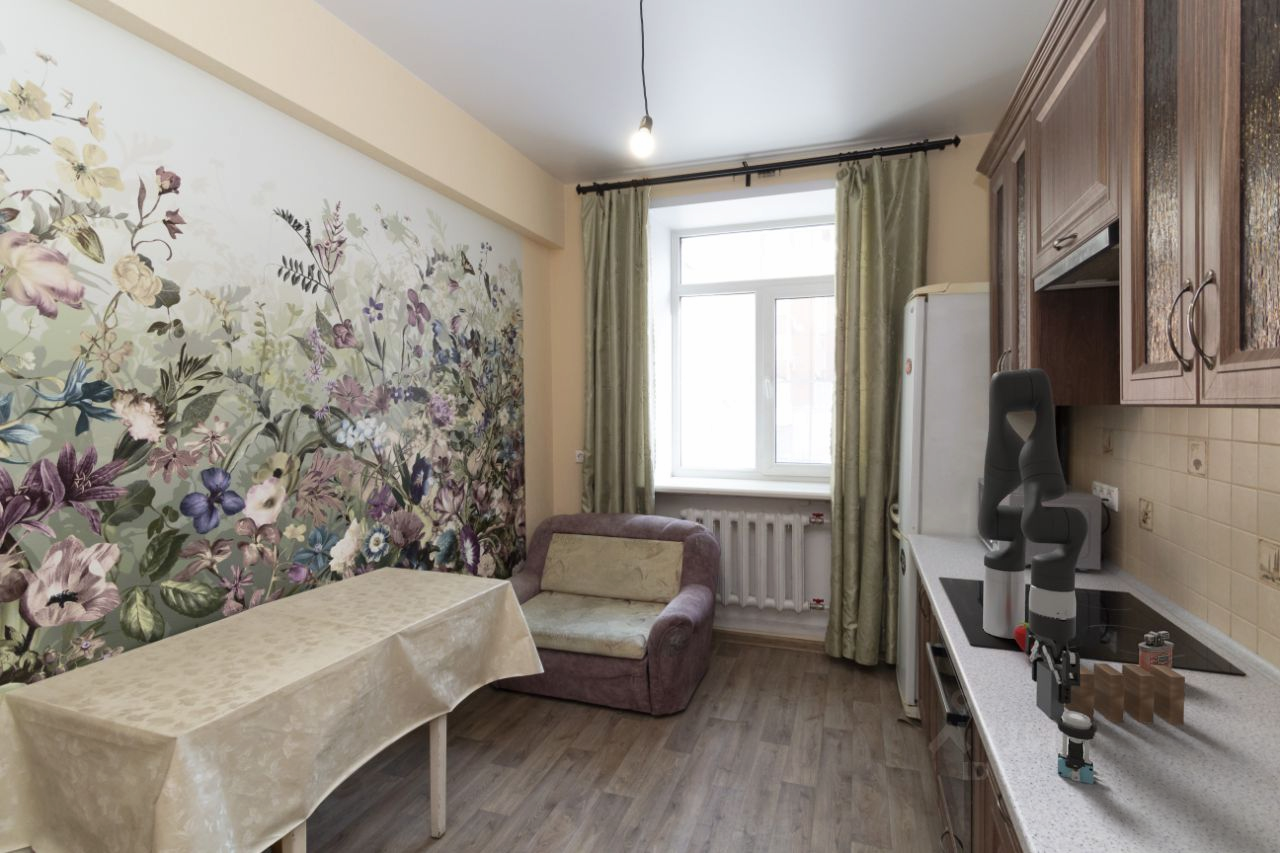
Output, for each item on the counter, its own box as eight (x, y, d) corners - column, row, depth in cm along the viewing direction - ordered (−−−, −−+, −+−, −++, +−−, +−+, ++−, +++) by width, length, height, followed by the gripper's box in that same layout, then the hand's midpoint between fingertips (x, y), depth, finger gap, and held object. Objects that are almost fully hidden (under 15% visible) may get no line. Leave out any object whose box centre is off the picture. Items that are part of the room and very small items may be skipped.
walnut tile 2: (1139, 722, 113) (1140, 675, 113) (1121, 709, 118) (1122, 664, 118) (1153, 723, 113) (1154, 676, 113) (1134, 709, 118) (1135, 664, 118)
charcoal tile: (1050, 718, 115) (1051, 672, 115) (1036, 705, 120) (1037, 661, 120) (1064, 719, 115) (1064, 673, 114) (1049, 706, 120) (1050, 661, 119)
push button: (1105, 776, 98) (1106, 716, 97) (1107, 794, 93) (1108, 731, 93) (1055, 763, 101) (1056, 704, 101) (1055, 779, 97) (1056, 719, 97)
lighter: (1149, 684, 128) (1151, 637, 128) (1133, 676, 132) (1134, 631, 131) (1177, 678, 130) (1178, 633, 130) (1160, 672, 134) (1161, 627, 133)
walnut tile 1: (1169, 723, 113) (1170, 676, 112) (1149, 710, 118) (1151, 664, 117) (1183, 724, 113) (1184, 677, 112) (1163, 710, 118) (1164, 665, 117)
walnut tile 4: (1080, 720, 115) (1081, 673, 114) (1064, 706, 120) (1065, 662, 119) (1093, 720, 114) (1094, 674, 114) (1077, 707, 119) (1078, 662, 119)
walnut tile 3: (1109, 721, 114) (1110, 674, 114) (1092, 707, 119) (1093, 663, 119) (1123, 722, 114) (1124, 675, 113) (1105, 708, 119) (1106, 663, 118)
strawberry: (1052, 667, 137) (1053, 623, 136) (1013, 660, 141) (1014, 618, 140) (1050, 657, 142) (1051, 615, 141) (1013, 650, 146) (1013, 610, 145)
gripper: (1012, 597, 124) (1011, 674, 125) (1052, 622, 110) (1050, 709, 111) (1051, 597, 123) (1050, 675, 124) (1096, 623, 109) (1094, 711, 110)
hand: (1050, 691), depth 117 cm, fingers open, 8 cm apart
